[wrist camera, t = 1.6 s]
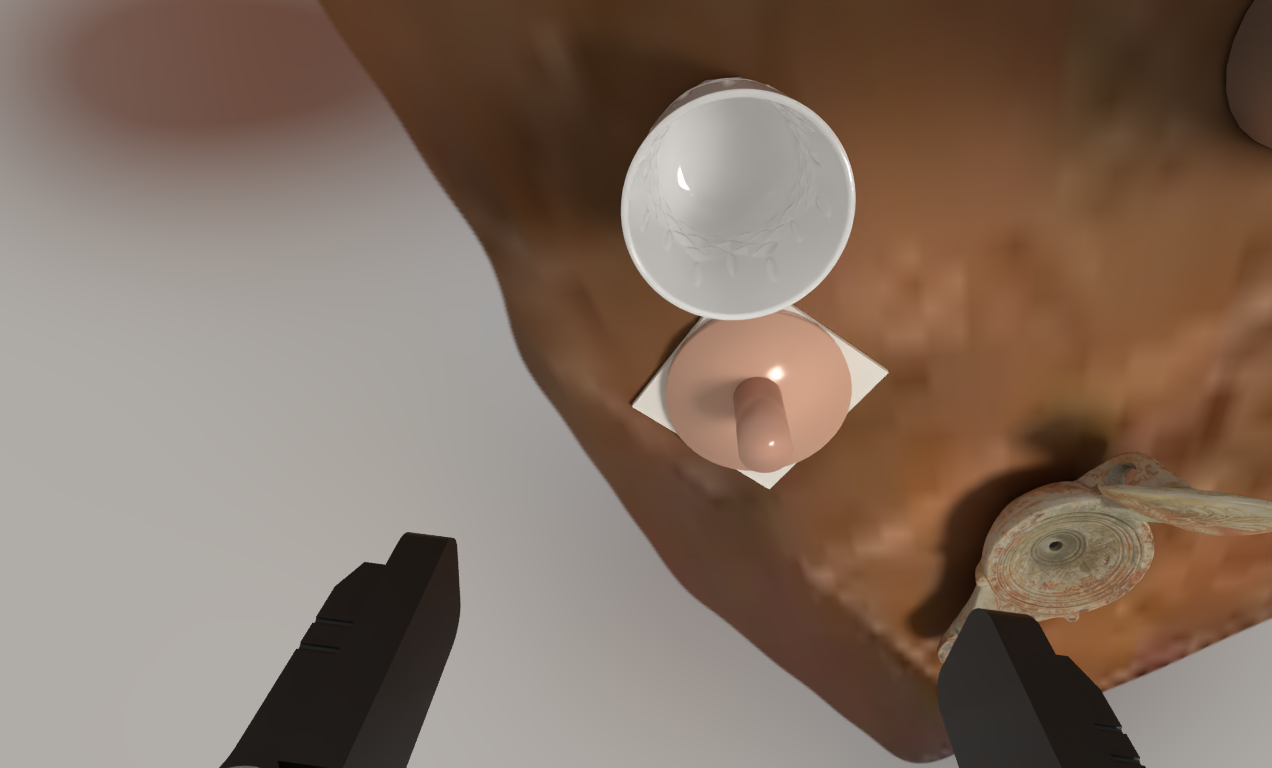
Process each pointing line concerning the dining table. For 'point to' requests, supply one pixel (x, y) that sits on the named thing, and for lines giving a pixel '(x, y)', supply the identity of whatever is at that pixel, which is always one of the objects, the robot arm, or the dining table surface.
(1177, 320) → the dining table surface
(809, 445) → the lid
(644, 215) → the white cup
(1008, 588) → the oil lamp
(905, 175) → the dining table surface
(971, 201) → the dining table surface
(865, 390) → the mat
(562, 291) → the dining table surface
